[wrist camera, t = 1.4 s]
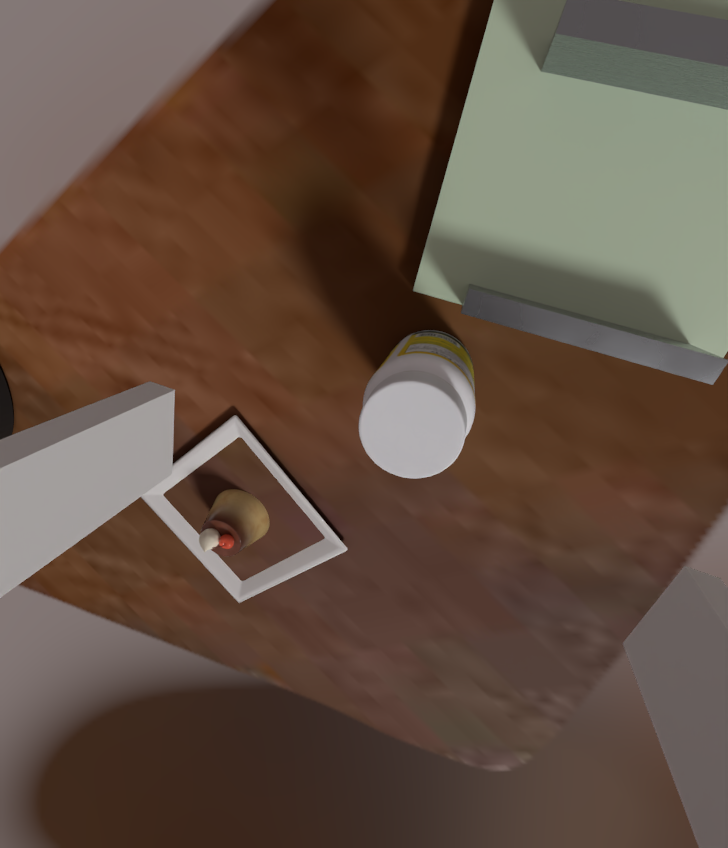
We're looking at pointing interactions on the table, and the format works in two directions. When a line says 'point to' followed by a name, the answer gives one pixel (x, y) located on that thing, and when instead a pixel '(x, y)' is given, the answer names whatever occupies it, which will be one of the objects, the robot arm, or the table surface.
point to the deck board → (584, 190)
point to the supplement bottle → (419, 405)
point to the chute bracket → (645, 72)
